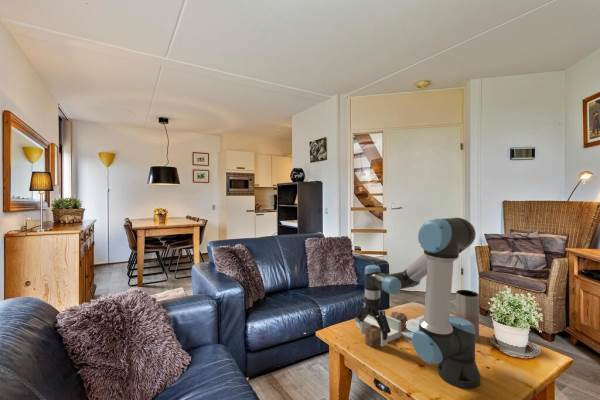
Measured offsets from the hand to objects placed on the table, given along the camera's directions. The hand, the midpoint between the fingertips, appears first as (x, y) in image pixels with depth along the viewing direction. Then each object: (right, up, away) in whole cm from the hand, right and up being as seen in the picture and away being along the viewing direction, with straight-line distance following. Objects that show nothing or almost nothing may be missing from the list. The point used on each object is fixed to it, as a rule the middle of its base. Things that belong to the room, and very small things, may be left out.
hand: (372, 339), depth 142 cm
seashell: (+19, -2, +19) cm, 27 cm away
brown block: (0, -2, 0) cm, 2 cm away
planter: (+50, -1, +5) cm, 51 cm away
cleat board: (+6, -2, +13) cm, 14 cm away
